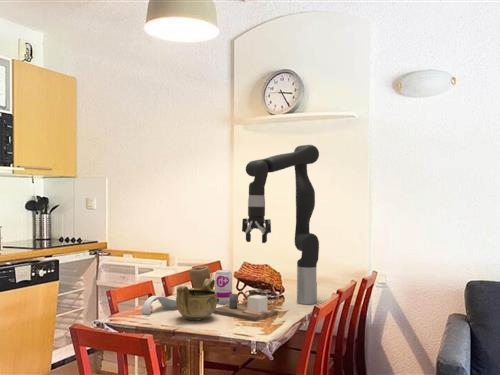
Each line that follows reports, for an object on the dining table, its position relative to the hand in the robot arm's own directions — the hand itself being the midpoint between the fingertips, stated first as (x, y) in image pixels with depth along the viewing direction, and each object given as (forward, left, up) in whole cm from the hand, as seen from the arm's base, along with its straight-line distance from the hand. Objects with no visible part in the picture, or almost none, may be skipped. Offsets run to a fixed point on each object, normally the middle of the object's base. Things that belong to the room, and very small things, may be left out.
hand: (256, 242), depth 232 cm
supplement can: (-4, -22, -30) cm, 38 cm away
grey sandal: (+25, -32, -30) cm, 51 cm away
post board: (+8, 0, -30) cm, 31 cm away
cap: (+8, +7, -28) cm, 30 cm away
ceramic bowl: (+28, -9, -30) cm, 42 cm away
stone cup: (-10, -40, -30) cm, 51 cm away
